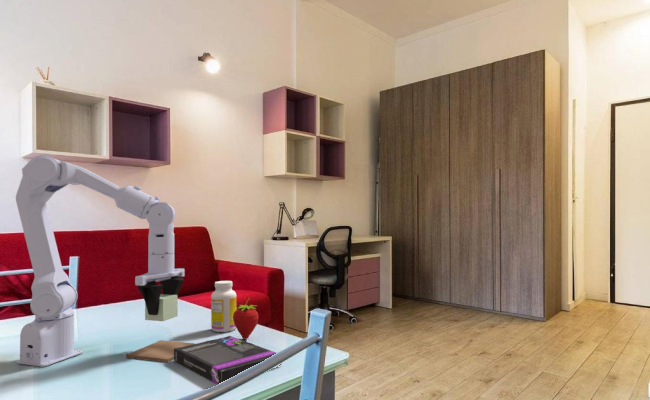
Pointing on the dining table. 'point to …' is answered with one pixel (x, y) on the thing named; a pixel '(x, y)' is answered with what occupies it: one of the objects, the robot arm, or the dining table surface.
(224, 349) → the box
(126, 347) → the dining table surface
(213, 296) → the supplement bottle
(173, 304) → the sage cube
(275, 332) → the dining table surface
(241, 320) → the strawberry
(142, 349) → the walnut board
